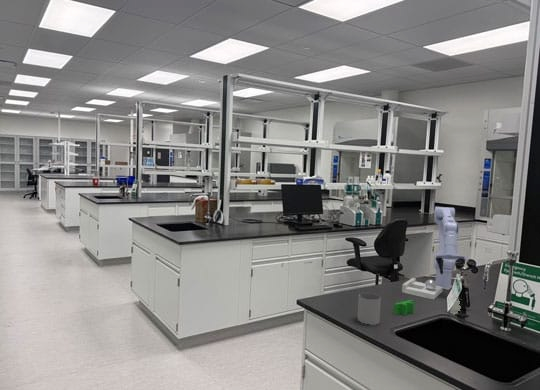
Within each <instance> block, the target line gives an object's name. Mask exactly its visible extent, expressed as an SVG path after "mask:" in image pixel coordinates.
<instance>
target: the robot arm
mask: <svg viewBox="0 0 540 390" xmlns="http://www.w3.org/2000/svg"><path fill="white" fill-rule="evenodd" d="M433 212H434V213H433V215H434V219H433V220H434V223H435V224H436V225H437V227H438V239H439V241H438V244H439V245H438V246H439V250H438V251H437V252H436V253H434V254H433V269H435V280H434V281H435V282H436V286H440V287H443V289H442V290H447V291H449V290H451V289H452V287H453V286H452V285H453V284H452V276H453V275H452V274H453V273H452V272H453V271H454V270H455V268H456V260H457V261H458V260H461V261H462V262H463V263H464V265H465V264H466V261H468V260H469V259H468V257H469V256H468V255H467V254H466V255H465V254H458V234H459V231H460V227H459V225H460V224H459V222H458V221H456V220H455V217H456V216H455V215H456V209H455V208H454V207H448V206H447V207H444V206H437V205H436V206H435V207H434V211H433ZM454 263H455V265H454Z"/></svg>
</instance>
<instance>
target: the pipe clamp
mask: <svg viewBox="0 0 540 390" xmlns="http://www.w3.org/2000/svg"><path fill="white" fill-rule="evenodd" d="M414 312H415V303H414V300H413V299H409V300H404V301H399V302H396V303H394V305H393V315H400V314H401V315H403V316H407V315H408V314H412V315H413V314H415V313H414Z"/></svg>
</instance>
